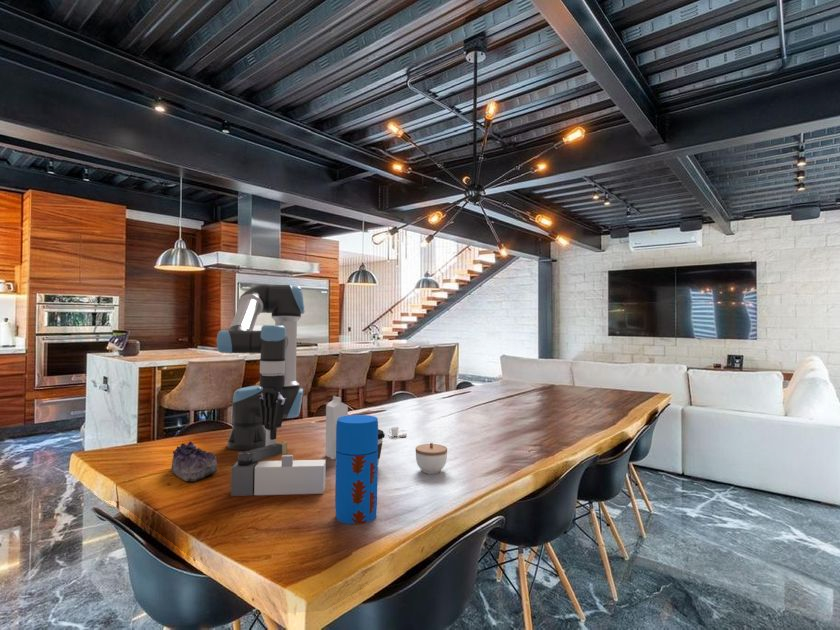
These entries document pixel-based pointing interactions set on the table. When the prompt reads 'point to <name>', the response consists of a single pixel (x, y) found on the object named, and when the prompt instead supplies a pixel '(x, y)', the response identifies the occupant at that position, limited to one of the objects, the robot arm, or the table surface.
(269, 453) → the bar
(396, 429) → the teacup and saucer
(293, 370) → the robot arm
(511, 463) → the table surface
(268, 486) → the white box with knob
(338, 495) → the thermos
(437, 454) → the lidded jar
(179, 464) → the geode
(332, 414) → the milk
